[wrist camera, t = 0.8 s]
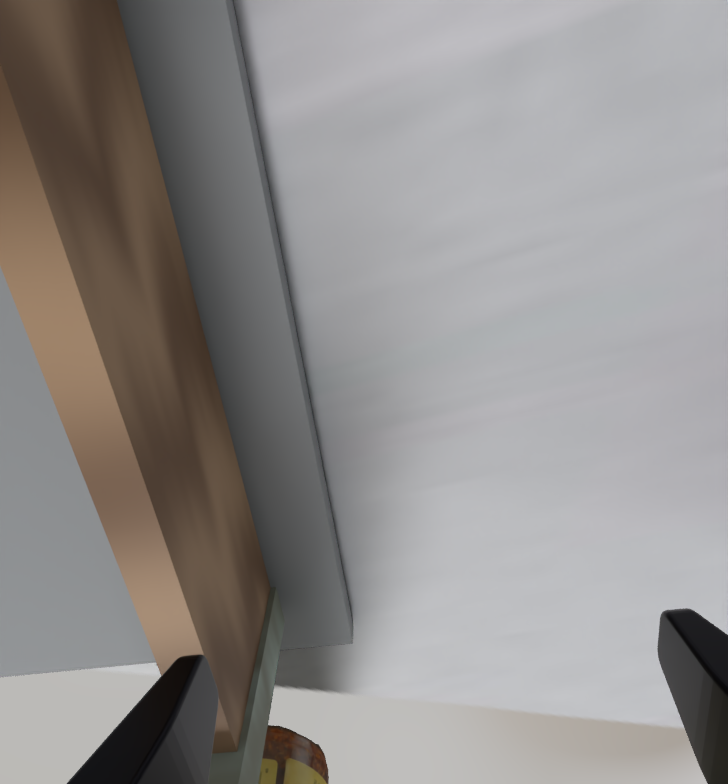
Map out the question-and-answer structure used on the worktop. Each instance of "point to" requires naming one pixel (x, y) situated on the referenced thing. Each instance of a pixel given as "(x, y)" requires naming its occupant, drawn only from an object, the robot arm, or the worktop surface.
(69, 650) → the gate frame
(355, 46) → the worktop surface
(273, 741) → the sauce bottle
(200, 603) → the gate
